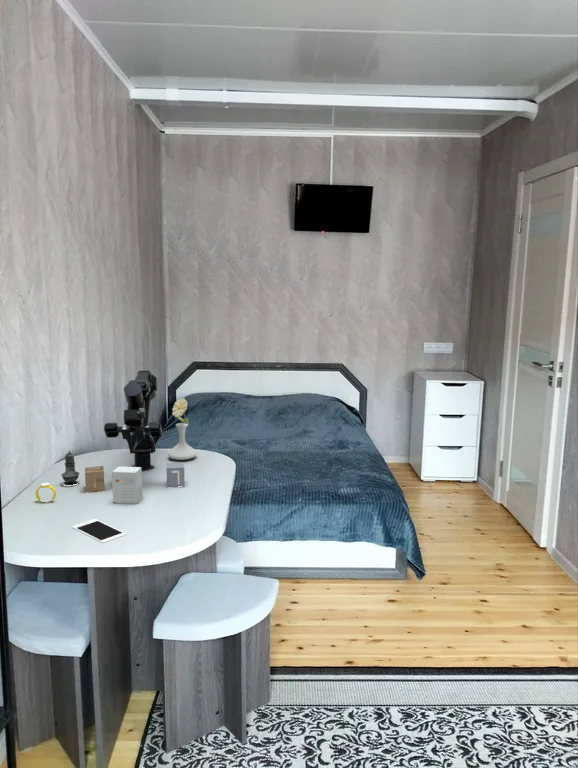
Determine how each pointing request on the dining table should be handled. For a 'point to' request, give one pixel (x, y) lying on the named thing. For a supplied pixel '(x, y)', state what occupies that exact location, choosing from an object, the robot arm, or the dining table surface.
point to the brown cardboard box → (94, 479)
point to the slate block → (175, 474)
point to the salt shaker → (70, 470)
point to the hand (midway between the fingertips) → (131, 451)
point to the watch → (45, 487)
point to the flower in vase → (181, 434)
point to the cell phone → (99, 530)
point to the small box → (127, 484)
